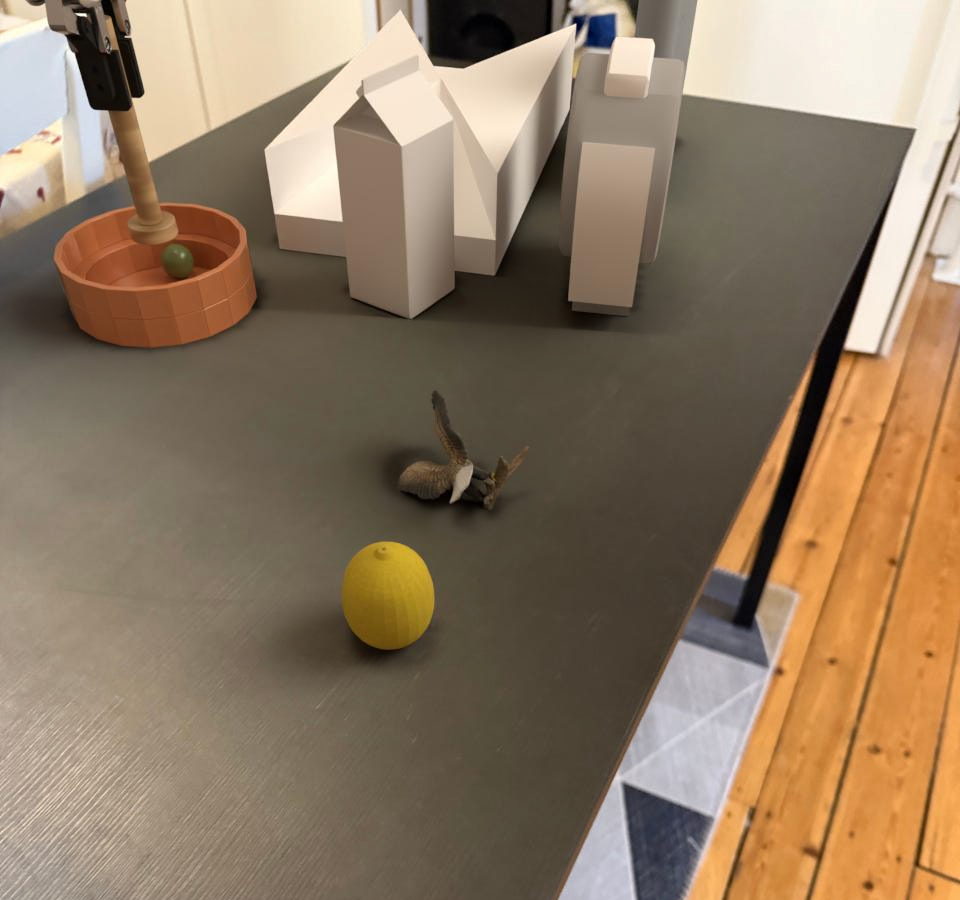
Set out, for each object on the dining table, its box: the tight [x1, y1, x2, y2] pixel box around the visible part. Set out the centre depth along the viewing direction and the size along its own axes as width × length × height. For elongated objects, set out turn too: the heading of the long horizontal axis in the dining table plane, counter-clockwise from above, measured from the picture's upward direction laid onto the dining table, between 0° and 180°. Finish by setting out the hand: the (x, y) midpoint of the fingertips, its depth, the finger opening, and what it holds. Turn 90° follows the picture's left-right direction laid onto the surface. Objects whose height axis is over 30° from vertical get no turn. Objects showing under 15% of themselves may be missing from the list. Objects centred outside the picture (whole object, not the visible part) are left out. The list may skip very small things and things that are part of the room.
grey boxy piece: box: [558, 36, 685, 317], centre depth 80 cm, size 18×8×20 cm, turn 170°
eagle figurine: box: [397, 388, 530, 510], centre depth 65 cm, size 8×7×9 cm
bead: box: [160, 244, 194, 278], centre depth 85 cm, size 3×3×3 cm
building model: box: [263, 9, 577, 277], centre depth 102 cm, size 45×22×10 cm, turn 167°
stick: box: [85, 15, 178, 245], centre depth 73 cm, size 4×4×16 cm
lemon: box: [340, 541, 436, 651], centre depth 55 cm, size 6×6×8 cm
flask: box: [633, 0, 699, 107], centre depth 96 cm, size 17×5×25 cm, turn 162°
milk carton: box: [333, 55, 456, 320], centre depth 79 cm, size 7×7×19 cm
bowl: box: [53, 202, 258, 349], centre depth 82 cm, size 16×16×6 cm
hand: (118, 100), depth 71 cm, fingers closed on stick, 2 cm apart
